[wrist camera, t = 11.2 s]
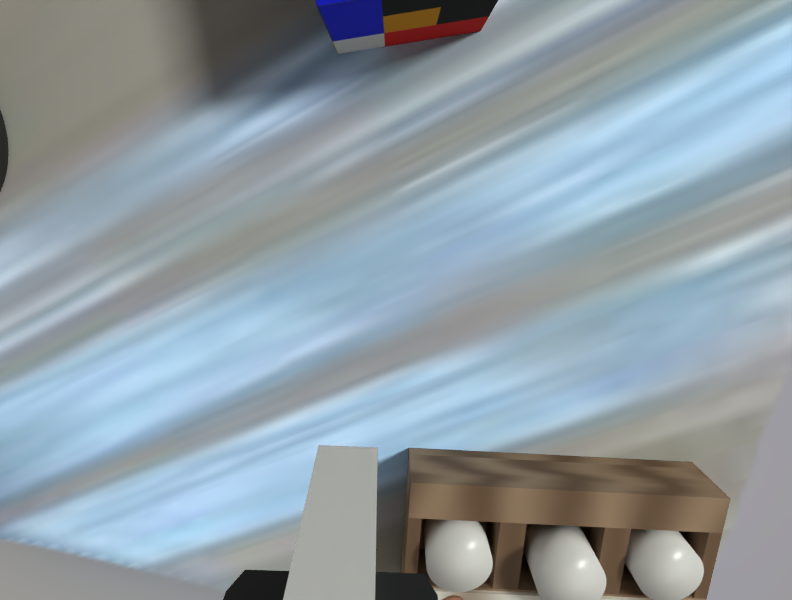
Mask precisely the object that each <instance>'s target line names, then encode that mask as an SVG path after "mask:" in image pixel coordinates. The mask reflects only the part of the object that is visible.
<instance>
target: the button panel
mask: <svg viewBox="0 0 792 600" xmlns="http://www.w3.org/2000/svg"><path fill="white" fill-rule="evenodd" d="M729 502H730V498H729V497H728V496H727V495H726V494H725V493H724V492H723V491H722V490H721V489H720V488H719V487H718V486H717V485H716V484H715V483H713V482H712V481H711V480H710V479H709V478H708V477H707V476H706V475H705V474H704V473H703V472H702V471H701V470H700V469H699V468H698V467H697V466H696V465H695V464H693V463H692V462H678V461H658V460H638V459H619V458H599V457H579V456H560V455H540V454H520V453H500V452H481V451H461V450H441V449H421V448H409V457H408V471H407V486H406V500H405V514H404V529H403V543H402V557H401V573H421V574H425V575H426V577H427V579H428V580H429V582H430V584H431V585H432V587H433V589H434V590H435V592H436V594H437V595H438V600H541V598H540V596H539V594H538V591H537V588H536V585H535V582H534V579H533V577H532V574H531V571H530V568H529V565H528V562H527V559H526V556H525V553H524V550H523V548H524V541H525V533H526V532H527V530H528V529H529V528H530V526H531V525H533V524H544V525H564V526H580V528H581V529H582V531H583V533H584V535H585V537H586V538H587V540H588V542H589V544H590V546H591V548H592V550H593V551H594V553H595V555H596V557H597V559H598V561H599V563H600V565H601V566H602V568H603V570H604V572H605V575H606V588H605V591H604V593H603V595H602V597H601V598H600V599H599V600H653V599H651V598H649V597H647V596H646V595H645V594H644V593H643V592H642V591H641V589H640V588H639V586H638V584H637V583H636V581H635V579H634V578H633V576H632V574H631V573H630V571H629V569H628V568H627V566H626V564H625V559H626V554H627V548H628V543H629V538H630V533H631V529H646V530H667V531H679V533H680V534H681V535H682V536H683V537H684V539H685V540H686V541H687V542H688V544H689V545H690V546H691V547H692V549H693V550H694V551H695V552H696V554H697V555H698V556H699V557H700V559H701V561H702V563H703V567H704V574H703V578H702V581H701V583H700V585H699V586H698V588H697V589H696V590H695V591H694V592H693V593H691V594H690V595H689V596H687V597H685V598H683V599H681V600H706V598H707V594H708V590H709V585H710V582H711V577H712V573H713V569H714V565H715V561H716V557H717V552H718V548H719V544H720V540H721V536H722V532H723V527H724V523H725V519H726V515H727V511H728V507H729ZM424 519H441V520H461V521H482V522H483V524H484V528H485V532H486V536H487V540H488V544H489V548H490V551H491V555H492V560H493V567H492V571H491V573H490V575H489V577H488V579H487V580H486V581H485V582H484V583H483V584H482V585H480V586H479V587H477V588H475V589H473V590H470V591H466V592H451V591H447V590H444V589H442V588H440V587H438V586H437V585H436V584H435V583H434V582H433V581H432V580H431V579H430V577H429V575H428V573H427V568H426V557H425V545H424V533H423V522H424Z"/></svg>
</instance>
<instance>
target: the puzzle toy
mask: <svg viewBox="0 0 792 600" xmlns="http://www.w3.org/2000/svg"><path fill="white" fill-rule="evenodd" d="M497 1H498V0H316V5H317V8H318V10H319V12H320V15H321V17H322V19H323V21H324V24H325V26H326V28H327V30H328V33H329V35H330V37H331V39H332V41H333V44H334V46H335V48H336V50H337V53H338V54H342V53H348V52H355V51H361V50H367V49H373V48H379V47H385V46H392V45H398V44H404V43H410V42H416V41H423V40H429V39H435V38H441V37H447V36H453V35H460V34H466V33H472V32H478V31H481V29H482V27H483V26H484V24H485V22H486V20H487V19H488V17H489V15H490V13H491V12H492V10H493V8H494V6H495V5H496V3H497Z"/></svg>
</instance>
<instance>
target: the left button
mask: <svg viewBox="0 0 792 600" xmlns="http://www.w3.org/2000/svg"><path fill="white" fill-rule="evenodd" d="M423 533H424V545H425V557H426V568H427V573H428V575H429V577H430V579H431V580H432V581H433V582H434V583H435V584H436V585H437V586H438V587H440V588H442V589H444V590H447V591H451V592H466V591H470V590H473V589H475V588H477V587H479V586H480V585H482V584H483V583H484V582H485V581H486V580H487V579H488V577H489V575H490V573H491V571H492V567H493V560H492V555H491V551H490V548H489V544H488V540H487V536H486V532H485V528H484V524H483V522H482V521H461V520H441V519H424V522H423Z"/></svg>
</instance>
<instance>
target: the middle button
mask: <svg viewBox="0 0 792 600" xmlns="http://www.w3.org/2000/svg"><path fill="white" fill-rule="evenodd" d="M523 550H524V553H525V556H526V559H527V562H528V565H529V568H530V571H531V574H532V577H533V579H534V582H535V585H536V588H537V591H538V594H539V596H540V598H541V600H599V599H600V598H601V597H602V595H603V593H604V591H605V588H606V575H605V572H604V570H603V568H602V566H601V565H600V563H599V561H598V559H597V557H596V555H595V553H594V551H593V550H592V548H591V546H590V544H589V542H588V540H587V538H586V537H585V535H584V533H583V531H582V529H581V528H580V526H564V525H544V524H533V525H531V526H530V528H529V529H528V530H527V532H526V533H525V541H524V548H523Z"/></svg>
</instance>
